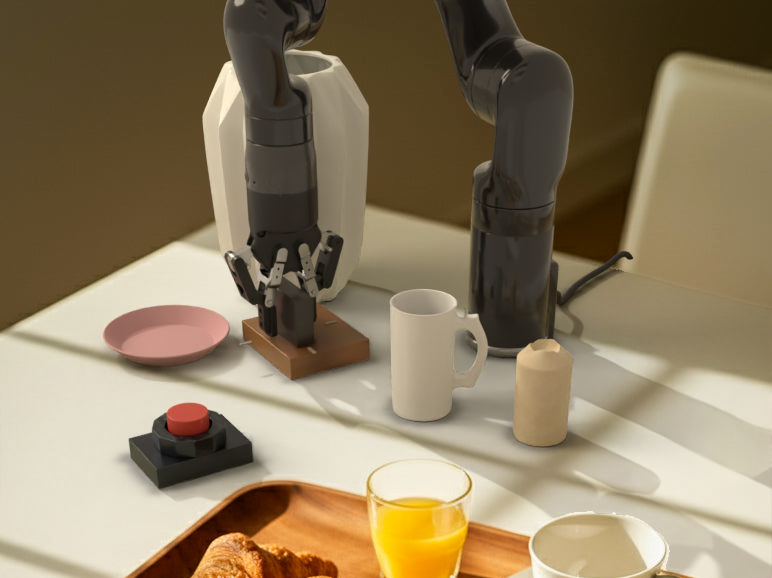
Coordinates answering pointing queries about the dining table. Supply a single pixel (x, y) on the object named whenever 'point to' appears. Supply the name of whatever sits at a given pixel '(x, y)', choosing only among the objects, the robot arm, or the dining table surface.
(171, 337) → the plate
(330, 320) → the oak panel
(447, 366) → the mug
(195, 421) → the button
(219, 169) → the vase
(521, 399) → the candle
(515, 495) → the dining table surface
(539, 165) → the robot arm
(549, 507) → the dining table surface
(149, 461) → the button block
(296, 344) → the bar knob
